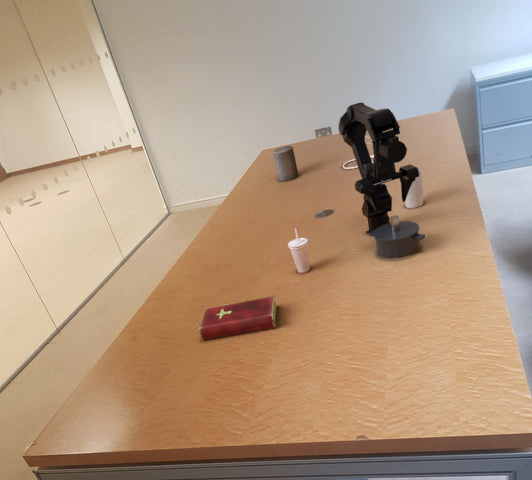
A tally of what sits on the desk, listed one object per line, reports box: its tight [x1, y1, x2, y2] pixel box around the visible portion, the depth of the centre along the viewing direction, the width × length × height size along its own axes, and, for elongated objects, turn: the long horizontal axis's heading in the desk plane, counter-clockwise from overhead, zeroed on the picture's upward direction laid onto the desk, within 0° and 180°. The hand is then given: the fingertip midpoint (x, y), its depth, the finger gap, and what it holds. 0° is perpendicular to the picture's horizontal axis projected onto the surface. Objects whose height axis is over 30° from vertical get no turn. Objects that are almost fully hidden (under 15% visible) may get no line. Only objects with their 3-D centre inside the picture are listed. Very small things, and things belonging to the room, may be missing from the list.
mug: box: [404, 168, 424, 209], centre depth 201 cm, size 10×7×12 cm, turn 161°
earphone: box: [342, 135, 374, 170], centre depth 260 cm, size 14×17×18 cm
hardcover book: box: [198, 294, 279, 341], centre depth 158 cm, size 12×21×4 cm, turn 87°
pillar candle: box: [272, 145, 300, 182], centre depth 266 cm, size 10×10×15 cm
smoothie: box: [287, 227, 311, 274], centre depth 175 cm, size 6×6×14 cm
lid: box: [372, 214, 420, 241], centre depth 170 cm, size 14×14×5 cm
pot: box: [368, 230, 426, 260], centre depth 172 cm, size 13×18×6 cm
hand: (389, 206), depth 174 cm, fingers open, 9 cm apart
